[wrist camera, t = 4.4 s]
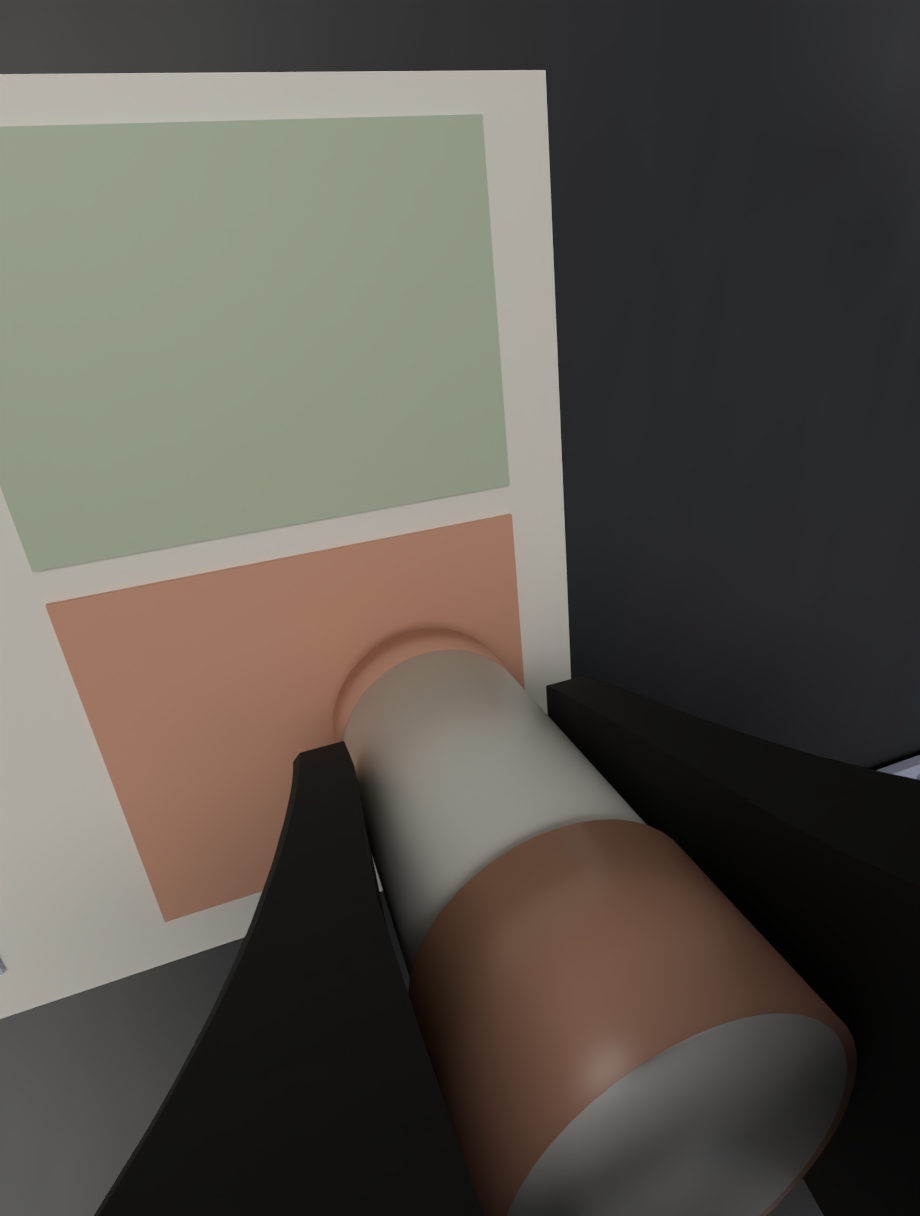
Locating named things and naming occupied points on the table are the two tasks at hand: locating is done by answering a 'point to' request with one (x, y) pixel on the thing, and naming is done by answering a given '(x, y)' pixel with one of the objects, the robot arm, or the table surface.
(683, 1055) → the orange and grey cylinder
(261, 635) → the board
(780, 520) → the table surface
